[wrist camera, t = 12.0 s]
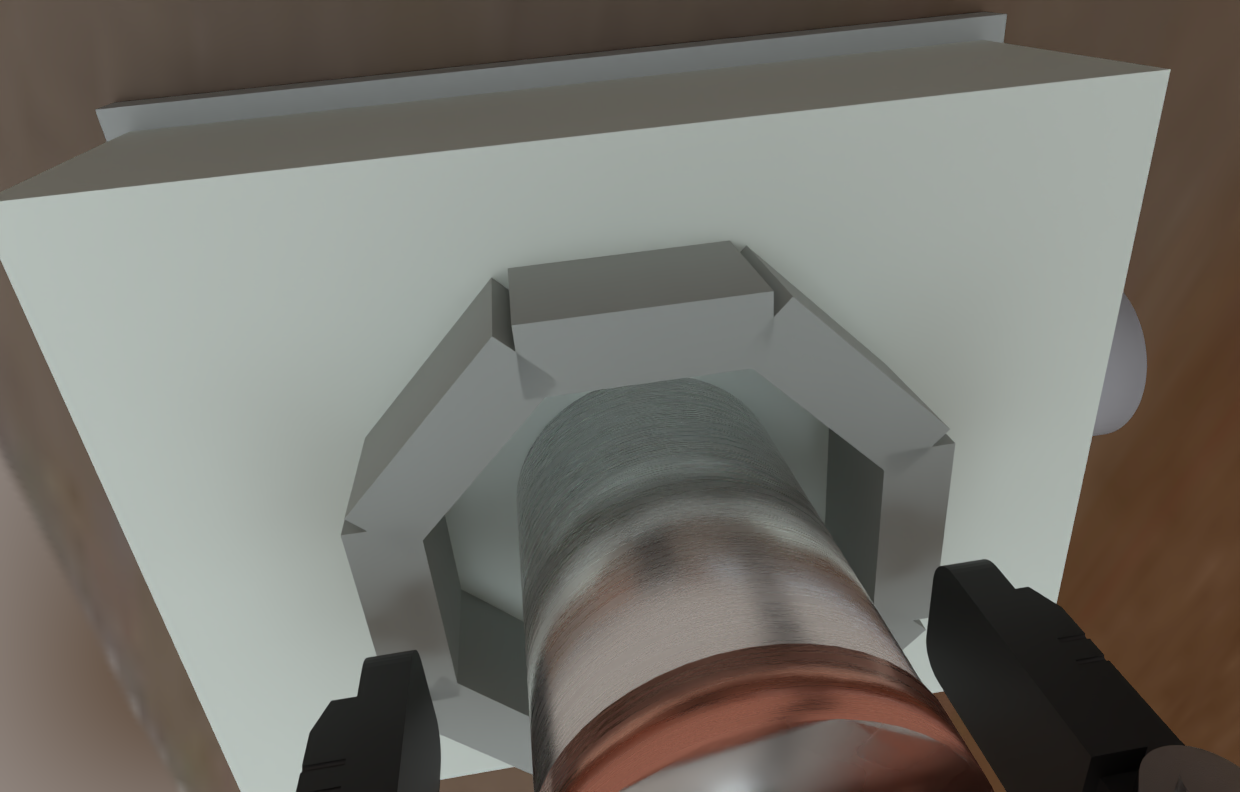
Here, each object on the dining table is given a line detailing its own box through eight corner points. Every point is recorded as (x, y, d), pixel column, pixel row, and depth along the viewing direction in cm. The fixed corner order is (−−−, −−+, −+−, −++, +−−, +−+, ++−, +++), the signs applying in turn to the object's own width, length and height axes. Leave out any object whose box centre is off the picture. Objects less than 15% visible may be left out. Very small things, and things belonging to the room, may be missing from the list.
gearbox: (1043, 5, 20) (1438, 36, 12) (971, 513, 27) (1186, 758, 19) (114, 102, 18) (-203, 221, 10) (296, 619, 25) (201, 943, 17)
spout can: (781, 354, 15) (1135, 808, 7) (778, 579, 18) (1039, 1114, 9) (495, 393, 15) (508, 927, 7) (532, 619, 17) (576, 1219, 9)
